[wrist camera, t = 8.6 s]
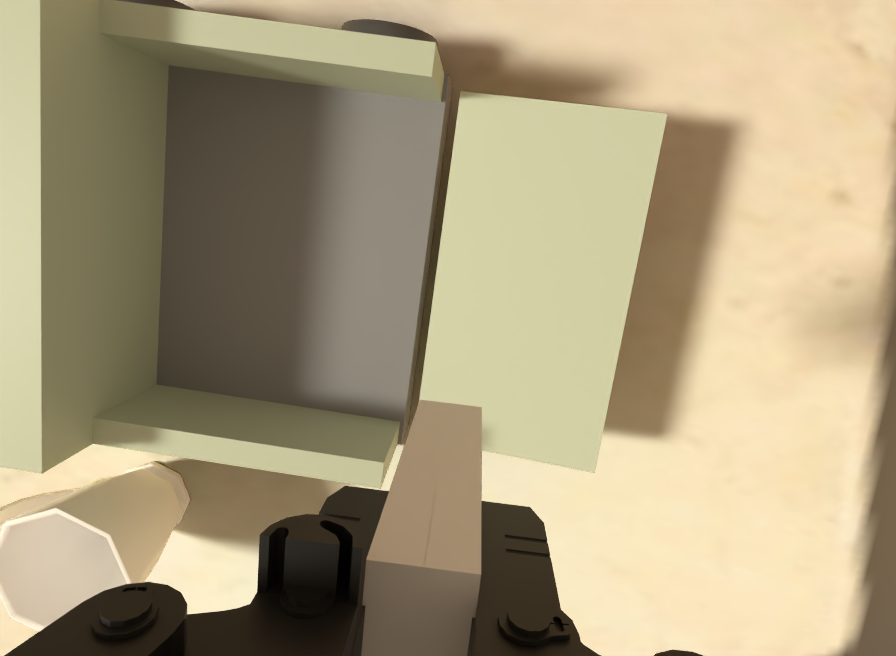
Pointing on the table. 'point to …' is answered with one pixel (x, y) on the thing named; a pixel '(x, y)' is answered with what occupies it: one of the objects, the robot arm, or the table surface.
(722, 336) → the table surface
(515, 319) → the panel
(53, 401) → the pickup truck
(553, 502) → the table surface
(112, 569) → the cup
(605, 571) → the table surface
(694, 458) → the table surface
